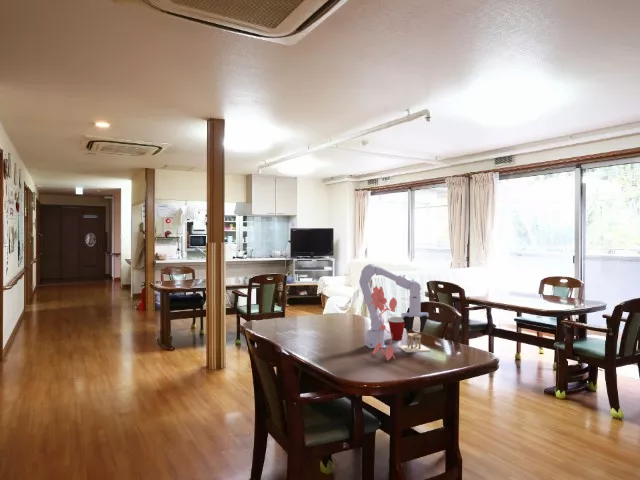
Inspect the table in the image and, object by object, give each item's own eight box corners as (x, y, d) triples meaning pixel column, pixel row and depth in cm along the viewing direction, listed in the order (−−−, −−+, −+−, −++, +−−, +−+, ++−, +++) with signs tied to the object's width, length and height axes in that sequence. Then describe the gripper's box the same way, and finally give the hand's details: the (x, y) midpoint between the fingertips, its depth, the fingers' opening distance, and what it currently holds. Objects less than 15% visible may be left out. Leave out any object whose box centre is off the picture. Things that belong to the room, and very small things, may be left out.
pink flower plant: (377, 350, 226) (376, 282, 226) (406, 363, 203) (405, 287, 202) (351, 353, 220) (349, 284, 220) (378, 367, 197) (376, 290, 196)
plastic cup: (384, 340, 249) (384, 319, 249) (390, 336, 258) (390, 316, 258) (403, 342, 244) (403, 320, 244) (408, 338, 253) (408, 317, 253)
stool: (411, 349, 226) (411, 335, 225) (407, 346, 231) (407, 333, 231) (420, 348, 226) (420, 335, 226) (416, 346, 232) (416, 333, 232)
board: (406, 352, 222) (406, 350, 222) (398, 347, 233) (398, 345, 233) (430, 351, 224) (430, 349, 224) (421, 346, 235) (421, 344, 235)
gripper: (404, 306, 225) (404, 332, 225) (431, 305, 227) (431, 331, 227) (399, 304, 232) (399, 329, 232) (425, 303, 234) (425, 328, 234)
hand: (414, 330), depth 230 cm, fingers open, 7 cm apart
